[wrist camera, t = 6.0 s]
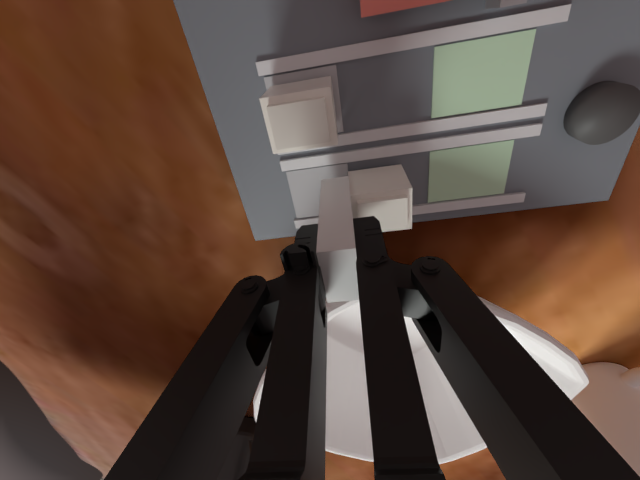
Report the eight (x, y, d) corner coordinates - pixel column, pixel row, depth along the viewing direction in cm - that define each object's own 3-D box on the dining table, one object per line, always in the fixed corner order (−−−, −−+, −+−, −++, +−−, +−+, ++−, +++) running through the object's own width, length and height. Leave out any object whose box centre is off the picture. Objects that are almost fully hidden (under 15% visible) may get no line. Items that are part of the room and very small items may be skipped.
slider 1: (281, 134, 17) (271, 157, 14) (270, 86, 15) (257, 100, 13) (337, 126, 16) (338, 147, 14) (330, 75, 15) (330, 88, 12)
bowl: (351, 174, 22) (360, 249, 15) (558, 283, 27) (638, 377, 20) (248, 338, 32) (224, 425, 25) (409, 393, 37) (426, 479, 30)
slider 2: (352, 207, 19) (355, 239, 16) (347, 171, 18) (350, 199, 15) (401, 201, 19) (413, 233, 16) (401, 164, 17) (414, 191, 15)
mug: (599, 332, 30) (703, 453, 22) (678, 342, 30) (810, 465, 22) (531, 396, 37) (590, 507, 28) (596, 404, 37) (673, 515, 29)
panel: (263, 217, 24) (250, 254, 20) (174, -71, 15) (121, -101, 11) (576, 179, 21) (627, 212, 17) (703, -201, 12) (866, -298, 8)
